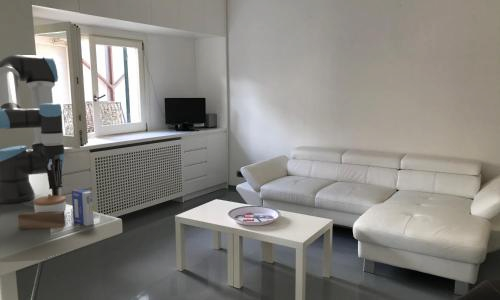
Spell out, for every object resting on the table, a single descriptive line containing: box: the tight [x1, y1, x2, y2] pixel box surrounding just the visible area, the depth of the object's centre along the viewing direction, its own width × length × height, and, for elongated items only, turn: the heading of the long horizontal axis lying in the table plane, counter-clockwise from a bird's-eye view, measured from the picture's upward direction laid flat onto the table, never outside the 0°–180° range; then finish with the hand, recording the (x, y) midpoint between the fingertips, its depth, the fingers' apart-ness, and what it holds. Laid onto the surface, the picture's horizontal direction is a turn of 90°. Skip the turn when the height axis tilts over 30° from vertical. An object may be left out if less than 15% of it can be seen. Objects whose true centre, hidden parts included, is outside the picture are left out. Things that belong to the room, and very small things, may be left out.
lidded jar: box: [33, 193, 67, 213], centre depth 148 cm, size 11×11×9 cm
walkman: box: [71, 188, 95, 227], centre depth 143 cm, size 8×3×12 cm, turn 59°
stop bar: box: [17, 211, 66, 231], centre depth 139 cm, size 3×14×5 cm, turn 99°
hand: (57, 204), depth 155 cm, fingers closed
